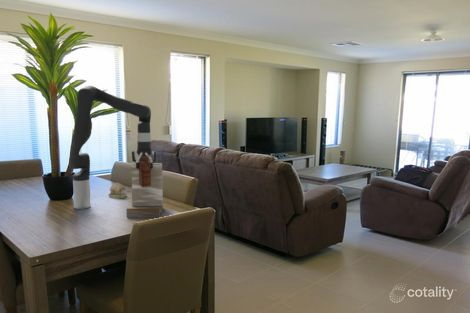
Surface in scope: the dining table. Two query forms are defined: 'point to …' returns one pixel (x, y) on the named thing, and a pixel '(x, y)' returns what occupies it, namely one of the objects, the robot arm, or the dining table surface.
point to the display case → (146, 194)
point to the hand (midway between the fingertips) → (144, 168)
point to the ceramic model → (117, 191)
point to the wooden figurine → (144, 171)
